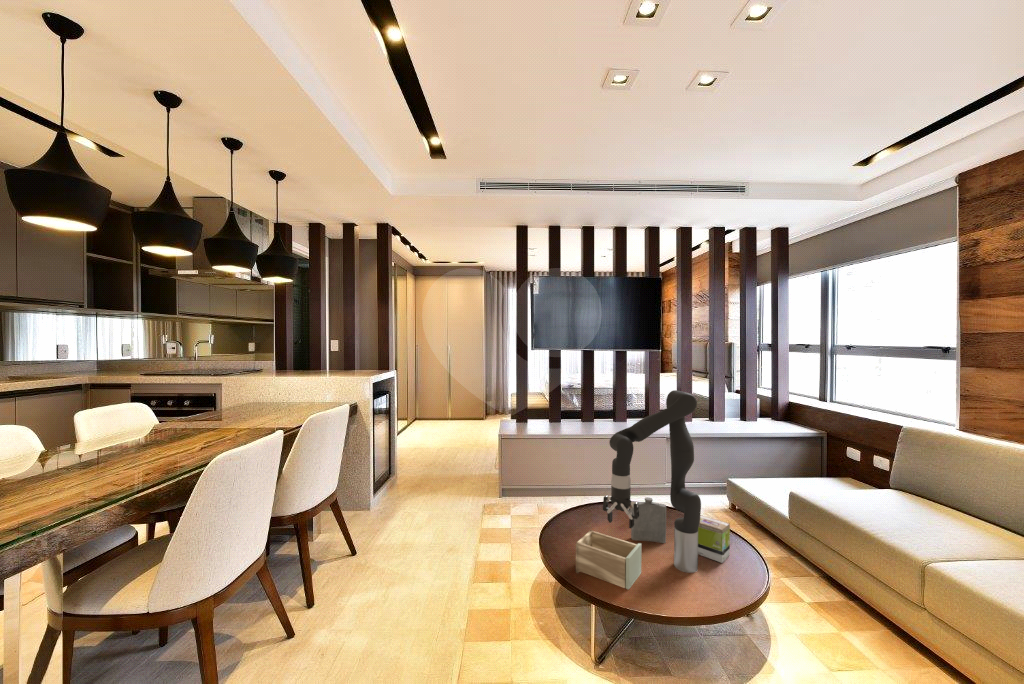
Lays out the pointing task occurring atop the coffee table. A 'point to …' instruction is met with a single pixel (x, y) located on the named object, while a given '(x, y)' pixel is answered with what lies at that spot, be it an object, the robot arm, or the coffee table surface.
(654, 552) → the coffee table surface
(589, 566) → the box
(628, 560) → the flat panel
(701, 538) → the tea box
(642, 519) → the hip flask
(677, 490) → the robot arm
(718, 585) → the coffee table surface
